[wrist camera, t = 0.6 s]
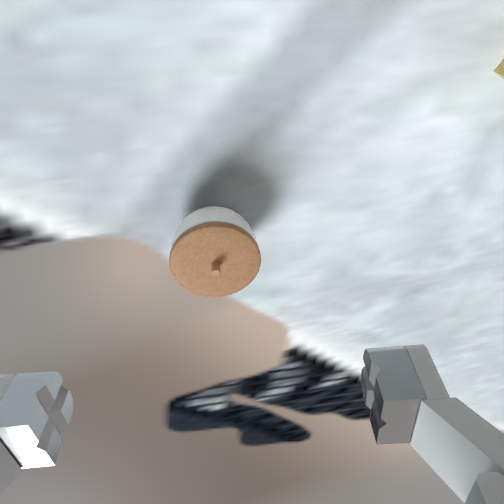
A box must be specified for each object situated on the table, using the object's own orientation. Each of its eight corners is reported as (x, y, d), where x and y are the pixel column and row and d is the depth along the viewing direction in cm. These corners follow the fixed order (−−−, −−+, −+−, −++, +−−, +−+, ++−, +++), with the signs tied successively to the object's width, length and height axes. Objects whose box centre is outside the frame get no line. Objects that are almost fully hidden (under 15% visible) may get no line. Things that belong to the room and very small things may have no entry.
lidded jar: (173, 188, 53) (169, 231, 45) (259, 194, 55) (270, 237, 47) (170, 257, 59) (167, 305, 52) (247, 261, 61) (255, 308, 53)
